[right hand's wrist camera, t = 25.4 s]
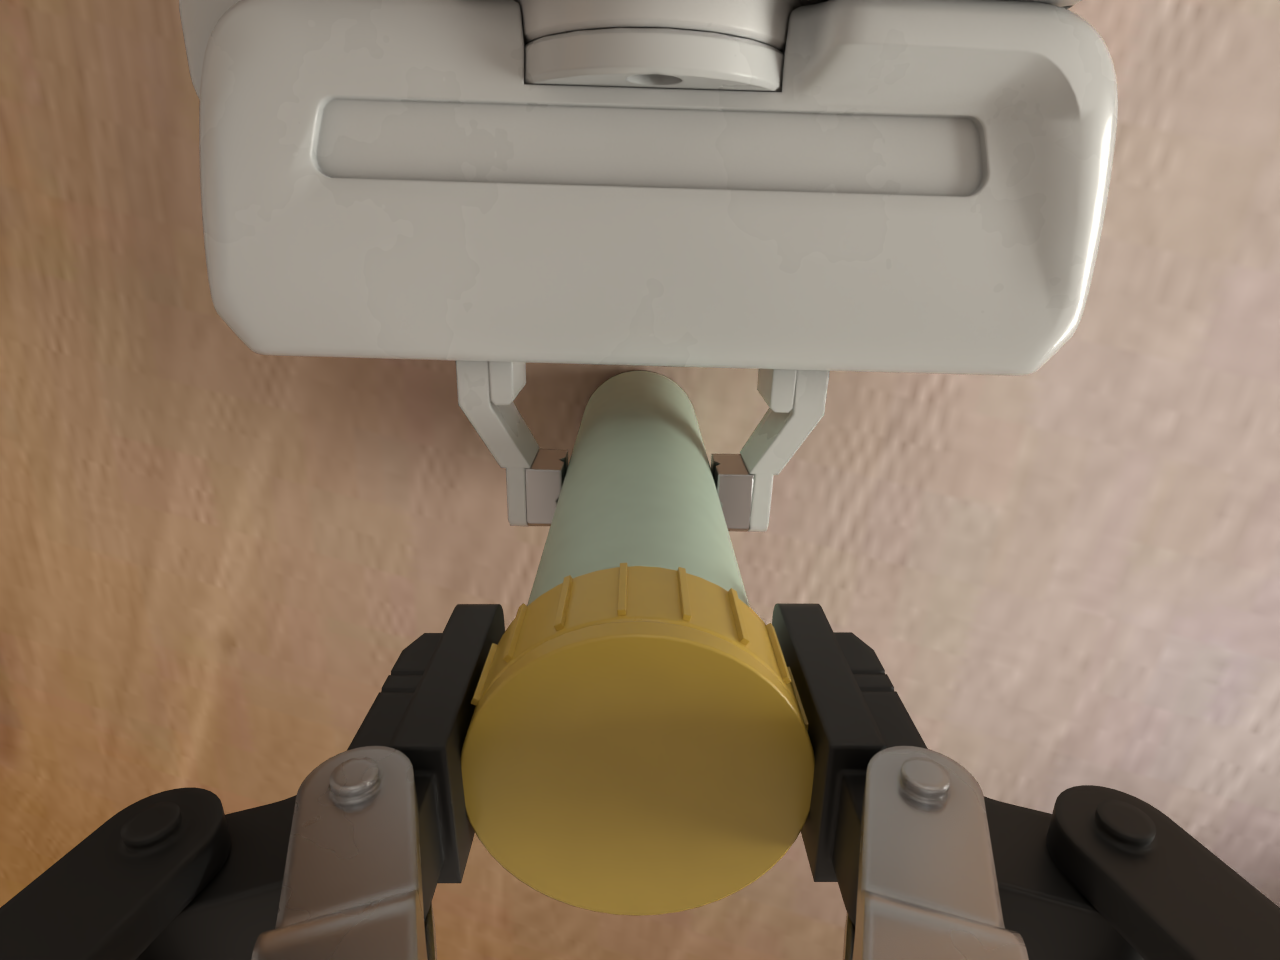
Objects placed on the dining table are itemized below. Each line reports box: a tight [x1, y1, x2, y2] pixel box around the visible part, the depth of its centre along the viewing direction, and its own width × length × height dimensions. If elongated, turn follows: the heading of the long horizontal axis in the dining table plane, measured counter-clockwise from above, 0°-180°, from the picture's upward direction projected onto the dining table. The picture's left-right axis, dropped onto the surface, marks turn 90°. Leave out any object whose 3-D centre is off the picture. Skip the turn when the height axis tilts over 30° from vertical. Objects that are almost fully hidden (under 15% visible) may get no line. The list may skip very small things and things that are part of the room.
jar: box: [527, 371, 749, 606], centre depth 18 cm, size 4×4×16 cm
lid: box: [461, 563, 815, 916], centre depth 10 cm, size 5×5×2 cm
